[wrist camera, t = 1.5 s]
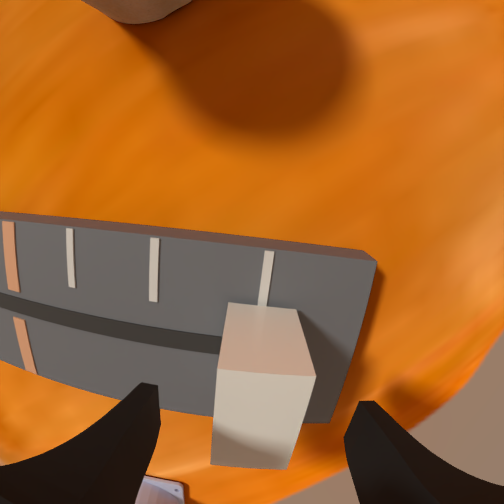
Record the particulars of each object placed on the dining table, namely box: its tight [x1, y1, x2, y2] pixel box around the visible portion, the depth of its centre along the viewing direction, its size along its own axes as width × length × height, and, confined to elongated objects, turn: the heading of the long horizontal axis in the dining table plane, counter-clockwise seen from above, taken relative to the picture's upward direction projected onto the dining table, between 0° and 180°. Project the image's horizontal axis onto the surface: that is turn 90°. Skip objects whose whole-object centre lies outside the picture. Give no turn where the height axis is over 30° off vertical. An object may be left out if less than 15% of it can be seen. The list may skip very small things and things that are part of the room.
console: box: [0, 212, 377, 423], centre depth 15 cm, size 10×26×2 cm, turn 83°
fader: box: [210, 302, 316, 469], centre depth 12 cm, size 5×3×5 cm, turn 173°
